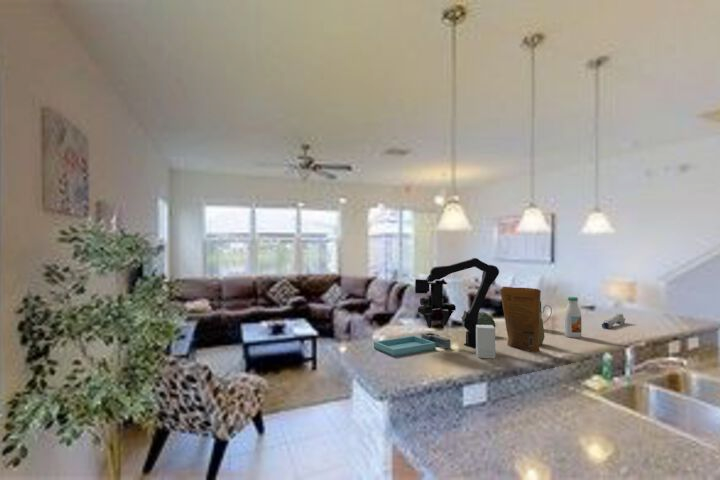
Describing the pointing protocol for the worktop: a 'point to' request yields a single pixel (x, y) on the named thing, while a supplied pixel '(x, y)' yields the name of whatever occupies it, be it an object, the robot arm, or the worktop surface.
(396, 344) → the bin
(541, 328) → the squeeze bottle
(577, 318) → the milk bottle
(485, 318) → the vegetable
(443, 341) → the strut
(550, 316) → the glass holder
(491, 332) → the supplement box
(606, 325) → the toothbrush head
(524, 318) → the pancake mix bag
